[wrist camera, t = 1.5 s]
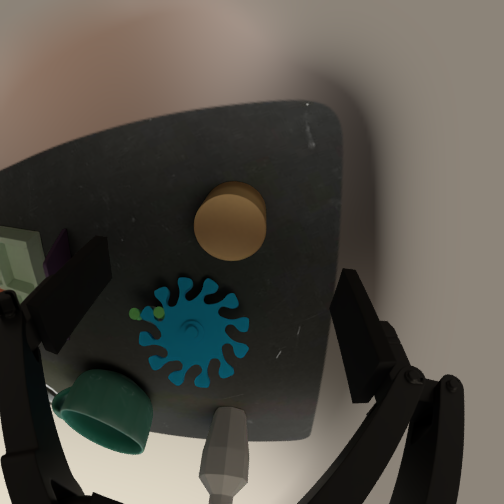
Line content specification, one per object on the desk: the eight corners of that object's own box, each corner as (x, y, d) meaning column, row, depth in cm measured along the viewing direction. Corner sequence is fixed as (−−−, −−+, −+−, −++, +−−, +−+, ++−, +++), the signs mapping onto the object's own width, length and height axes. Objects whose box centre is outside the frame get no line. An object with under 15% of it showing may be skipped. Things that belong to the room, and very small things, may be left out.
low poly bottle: (209, 419, 39) (190, 544, 19) (209, 400, 36) (186, 544, 16) (249, 424, 39) (240, 550, 19) (254, 406, 36) (245, 551, 16)
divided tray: (-26, 221, 24) (-37, 229, 22) (39, 231, 24) (25, 241, 22) (3, 309, 31) (-5, 318, 29) (69, 334, 31) (60, 346, 29)
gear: (267, 298, 24) (227, 406, 21) (259, 305, 30) (227, 392, 27) (150, 254, 24) (110, 356, 22) (164, 269, 30) (131, 353, 27)
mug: (149, 367, 33) (127, 427, 24) (166, 413, 39) (153, 462, 30) (54, 343, 33) (25, 389, 25) (81, 391, 39) (63, 431, 31)
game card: (35, 263, 18) (59, 340, 22) (89, 263, 20) (106, 342, 24) (57, 228, 23) (71, 298, 28) (103, 227, 25) (111, 299, 29)
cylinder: (205, 177, 21) (195, 190, 18) (270, 185, 21) (271, 199, 18) (202, 235, 24) (192, 256, 21) (261, 243, 24) (260, 265, 21)
